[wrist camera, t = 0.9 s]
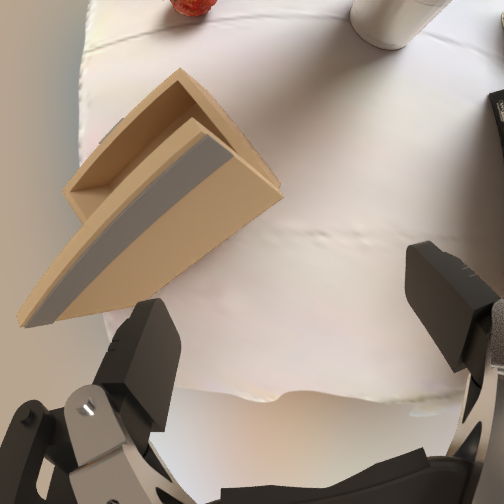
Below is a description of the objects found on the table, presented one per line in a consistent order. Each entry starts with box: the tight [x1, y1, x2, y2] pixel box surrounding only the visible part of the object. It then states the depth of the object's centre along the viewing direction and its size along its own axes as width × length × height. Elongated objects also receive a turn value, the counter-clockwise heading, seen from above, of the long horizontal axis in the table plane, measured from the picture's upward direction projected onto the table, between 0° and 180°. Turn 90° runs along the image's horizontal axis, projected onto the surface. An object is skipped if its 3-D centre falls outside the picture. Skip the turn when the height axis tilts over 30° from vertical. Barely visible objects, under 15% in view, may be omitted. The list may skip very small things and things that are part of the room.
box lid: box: [16, 117, 284, 328], centre depth 23 cm, size 16×20×1 cm
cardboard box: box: [62, 68, 281, 224], centre depth 34 cm, size 16×20×10 cm
